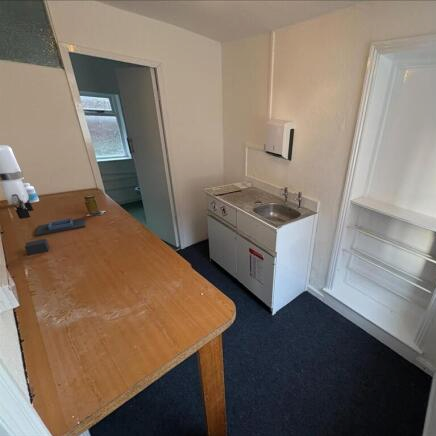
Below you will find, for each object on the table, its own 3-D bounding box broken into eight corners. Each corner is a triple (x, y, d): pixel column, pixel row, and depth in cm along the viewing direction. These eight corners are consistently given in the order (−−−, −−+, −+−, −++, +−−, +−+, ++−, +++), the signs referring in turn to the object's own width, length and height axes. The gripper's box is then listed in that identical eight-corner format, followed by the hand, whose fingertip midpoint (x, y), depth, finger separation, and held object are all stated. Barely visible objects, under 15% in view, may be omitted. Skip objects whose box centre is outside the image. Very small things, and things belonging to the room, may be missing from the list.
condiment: (90, 212, 154) (85, 194, 149) (106, 211, 156) (101, 194, 151) (86, 216, 147) (80, 198, 142) (102, 215, 150) (96, 197, 145)
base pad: (35, 236, 122) (33, 231, 120) (38, 227, 131) (36, 222, 130) (85, 227, 134) (83, 222, 132) (84, 219, 143) (83, 214, 142)
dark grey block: (28, 255, 106) (24, 246, 104) (30, 250, 109) (26, 242, 107) (48, 251, 110) (44, 242, 108) (49, 246, 113) (45, 238, 111)
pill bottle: (25, 201, 165) (16, 183, 160) (39, 199, 170) (32, 181, 165) (24, 204, 160) (15, 185, 155) (39, 202, 165) (31, 184, 160)
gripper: (0, 173, 99) (18, 210, 106) (-11, 181, 87) (10, 223, 94) (25, 171, 104) (41, 207, 111) (19, 179, 92) (36, 218, 99)
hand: (27, 214), depth 102 cm, fingers open, 9 cm apart
